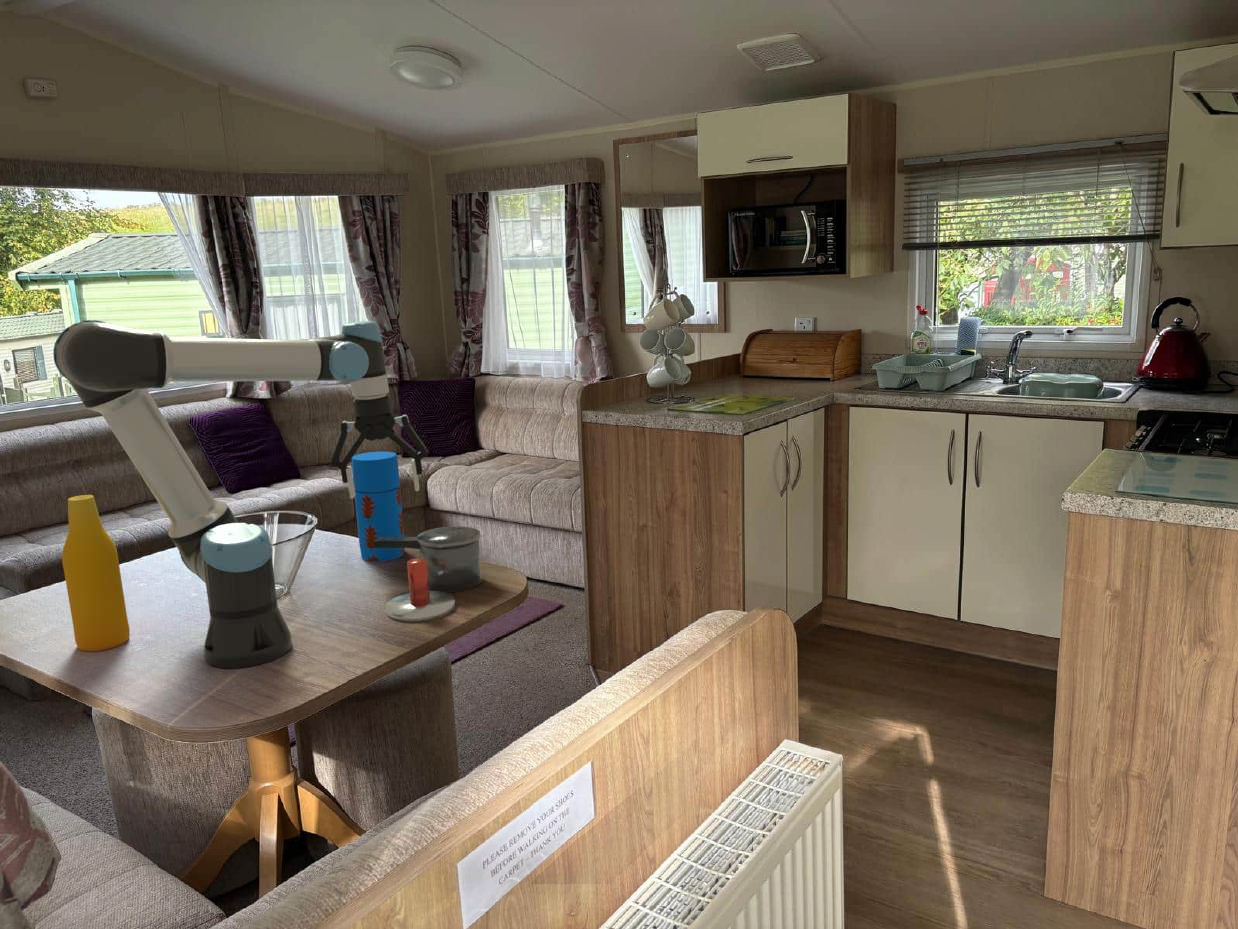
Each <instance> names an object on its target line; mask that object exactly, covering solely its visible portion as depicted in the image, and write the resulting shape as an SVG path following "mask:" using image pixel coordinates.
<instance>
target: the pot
mask: <svg viewBox="0 0 1238 929" xmlns="http://www.w3.org/2000/svg"><path fill="white" fill-rule="evenodd" d="M480 539H481V531H480V530H479V529H478V528H474V527H470V526H460V525H459V526H457V525H455V526H453V525H452V526H443V527H436V528H432V529H428V530H426V531H423V532H420V533H419V534H418V535H417V536H404V537H378V538H377V539H376V540H375V541H374V548H405V549H407V548H409V549H411V548H413V549H414V548H416V549H417V548H419V554H420V557H419V558H424V559H426V560H427V567H428V580H429V591H439V592H445V593H456V592H461V591H462V592H463V591H465V590H469V589H470V590H471V589H474V587H477V586H478V585H480V584H481V583H482V581H483V580H482V567H481V565H482V564H481V550H480ZM480 582H481V583H480ZM479 583H480V584H479ZM476 585H477V586H476Z"/></svg>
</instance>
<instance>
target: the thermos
mask: <svg viewBox="0 0 1238 929" xmlns="http://www.w3.org/2000/svg"><path fill="white" fill-rule="evenodd" d="M351 469H352V476H353V482H354V488H355V497H354V502H355V512H356V513H355V514H356V515H355V516H356V522H357V534H358V544H359V550H360V556H361V560H364V561H368V562H385V561H392V560H395V559H399V558H400V557H403V556H404V555H405V553H406V552H405V549H406V548H374V541H375V540H376V539H377V538H378V537H405V529H404V519H403V518H404V517H403V506H402V496H401V495H402V492H401V484H400V471H399V460H398V456H397V453H396V452H392V451H370V452H363V453H359V454H354V455H353V457H352V458H351Z"/></svg>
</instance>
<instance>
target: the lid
mask: <svg viewBox="0 0 1238 929" xmlns="http://www.w3.org/2000/svg"><path fill="white" fill-rule="evenodd" d="M406 564H407V565H406V567H407V578H408V590H409V592H408V593H405V594H401V595H398V596H396V597H394V598H392V599H390V600H388V602H387V603H386V604H385V612H386V613H385V614H386V616H387V617H388V618H390V619H392V620H395V621H398V622H406V623H407V622H410V623H411V622H412V623H415V622H422V621H421V620H425V621H428V620H427V619H431V620H434V619H438V618H437V617H439V618H441V617H440V616H442V617H444V616H446V615H448V614H450V613H451V612H453V611H454V610H455V608H456V599H455V597H454V596H453V595H452V594H450V593H449V592H439V591H429V580H428V567H427V560H426V559H424V558H420V557H416V558H411V559H408V560H407V562H406ZM454 607H455V608H454ZM447 613H448V614H447ZM414 621H415V622H414Z"/></svg>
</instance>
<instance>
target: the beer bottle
mask: <svg viewBox="0 0 1238 929" xmlns="http://www.w3.org/2000/svg"><path fill="white" fill-rule="evenodd" d="M67 511H68V512H67V514H68V533H67V535H66V539H65V542H64V545H63V549H62V557H61V561H62V567H63V572H64V578H65V579H64V580H65V585H66V590H67V591H66V592H67V596H68V603H69V608H70V615H71V619H72V620H71V621H72V625H73V626H72V627H73V634H74V640H75V644H76V647H77V649H79V650H80V651H83V652H90V651H91V652H101V650H102V651H106V650H109V649H111V650H112V649H114V648H116V647H119V646H121V645H124V643H126V642H127V641H128V640H129V639H130V632H131V631H130V630H131V629H130V624H129V619H128V614H127V607H126V601H125V596H124V595H125V594H124V588H123V580H122V575H121V569H120V568H121V567H120V562H119V554H118V551H117V550H118V549H117V546H116V544H115V542H114V541H113V539H112V537H111V536H110V534H109V533H108V532H107V531H106V529H105V528H104V527H103V523H102V521H101V517H100V515H99V514H100V513H99V511H98V507H97V504H96V501H95V496H94V495H92V494H84V495H83V494H82V495H75V496H72V497H69V498H67Z"/></svg>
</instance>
